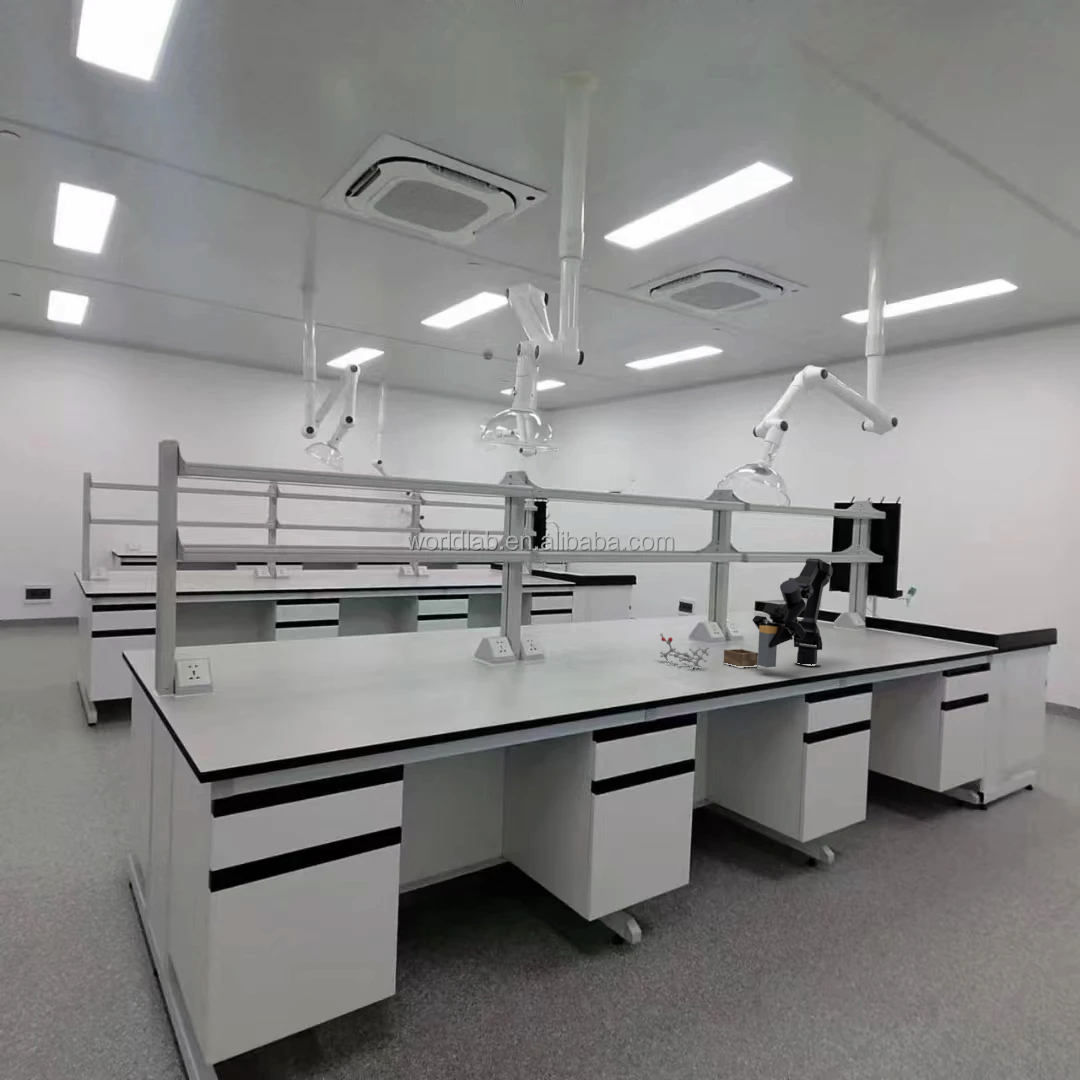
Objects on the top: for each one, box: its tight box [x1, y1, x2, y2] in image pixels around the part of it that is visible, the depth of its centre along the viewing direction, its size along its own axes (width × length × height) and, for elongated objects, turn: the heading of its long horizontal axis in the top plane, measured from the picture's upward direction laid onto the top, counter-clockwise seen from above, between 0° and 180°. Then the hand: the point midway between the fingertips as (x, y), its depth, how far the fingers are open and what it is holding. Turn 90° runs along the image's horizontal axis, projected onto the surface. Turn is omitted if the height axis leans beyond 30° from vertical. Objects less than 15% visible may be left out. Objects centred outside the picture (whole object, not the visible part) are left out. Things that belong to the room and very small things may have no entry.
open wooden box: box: [723, 648, 758, 666], centre depth 238 cm, size 8×8×5 cm
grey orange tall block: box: [757, 625, 778, 668], centre depth 225 cm, size 4×4×13 cm
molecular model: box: [659, 632, 710, 668], centre depth 234 cm, size 19×10×10 cm, turn 31°
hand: (764, 645), depth 224 cm, fingers closed on grey orange tall block, 4 cm apart
